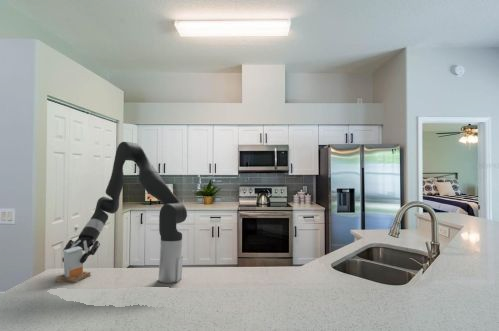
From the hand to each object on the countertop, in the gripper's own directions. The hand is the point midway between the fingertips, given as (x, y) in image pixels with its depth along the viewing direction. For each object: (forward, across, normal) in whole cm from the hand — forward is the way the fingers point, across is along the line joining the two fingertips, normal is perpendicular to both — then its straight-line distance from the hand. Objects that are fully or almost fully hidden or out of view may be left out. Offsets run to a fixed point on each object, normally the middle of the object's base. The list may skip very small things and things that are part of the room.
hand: (72, 262), depth 115 cm
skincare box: (+3, 0, +6) cm, 7 cm away
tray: (+4, 0, +6) cm, 8 cm away
